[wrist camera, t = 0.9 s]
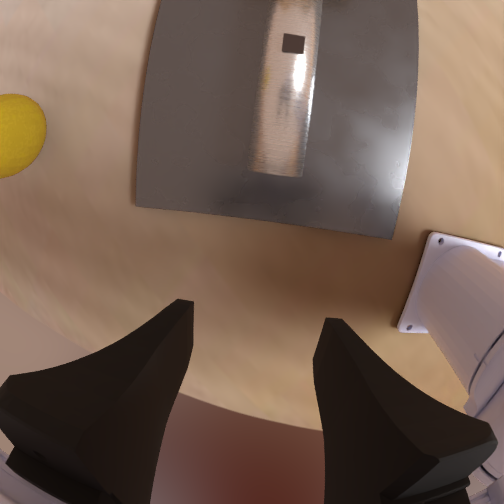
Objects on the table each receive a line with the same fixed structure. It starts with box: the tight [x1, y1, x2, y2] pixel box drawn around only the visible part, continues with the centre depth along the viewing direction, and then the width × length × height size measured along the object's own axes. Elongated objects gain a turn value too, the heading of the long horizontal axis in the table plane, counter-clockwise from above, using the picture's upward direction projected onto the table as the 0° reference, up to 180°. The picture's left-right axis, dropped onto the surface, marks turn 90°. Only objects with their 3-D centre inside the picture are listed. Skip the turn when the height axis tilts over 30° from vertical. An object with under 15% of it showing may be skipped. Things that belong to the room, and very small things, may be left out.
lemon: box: [0, 94, 46, 178], centre depth 12 cm, size 6×6×8 cm
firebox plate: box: [136, 0, 419, 240], centre depth 10 cm, size 16×25×5 cm, turn 173°
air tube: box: [247, 0, 322, 177], centre depth 12 cm, size 13×3×3 cm, turn 173°
